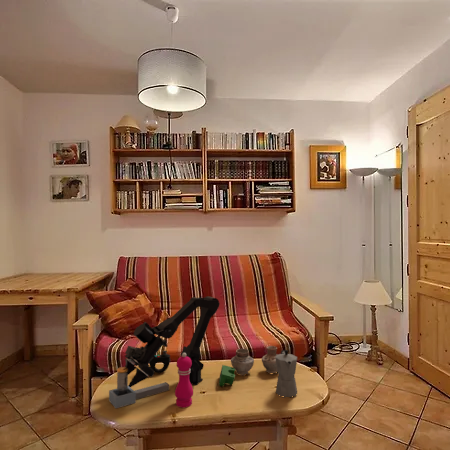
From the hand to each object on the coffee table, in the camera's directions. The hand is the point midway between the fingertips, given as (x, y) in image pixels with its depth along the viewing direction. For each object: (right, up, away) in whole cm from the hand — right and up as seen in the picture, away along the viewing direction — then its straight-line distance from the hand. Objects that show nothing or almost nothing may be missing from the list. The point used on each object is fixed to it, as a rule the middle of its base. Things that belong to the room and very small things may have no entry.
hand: (125, 382), depth 142 cm
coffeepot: (+66, -8, +8) cm, 67 cm away
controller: (+8, -8, +29) cm, 31 cm away
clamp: (+41, -8, +18) cm, 46 cm away
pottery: (+55, -8, +29) cm, 63 cm away
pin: (-1, -7, -1) cm, 7 cm away
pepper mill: (+24, -7, -3) cm, 25 cm away
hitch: (+6, -7, +4) cm, 10 cm away
